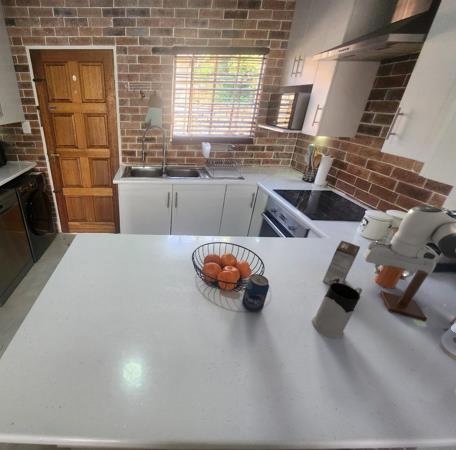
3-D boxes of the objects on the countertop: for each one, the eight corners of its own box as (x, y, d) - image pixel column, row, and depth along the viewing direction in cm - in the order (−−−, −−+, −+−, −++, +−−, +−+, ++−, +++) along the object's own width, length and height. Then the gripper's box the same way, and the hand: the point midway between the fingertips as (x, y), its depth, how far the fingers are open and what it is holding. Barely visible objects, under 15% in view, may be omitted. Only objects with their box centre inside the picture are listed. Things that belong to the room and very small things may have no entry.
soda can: (240, 310, 85) (247, 283, 79) (241, 297, 91) (248, 270, 85) (262, 316, 83) (271, 288, 77) (262, 302, 89) (270, 275, 83)
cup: (391, 281, 102) (402, 263, 98) (397, 290, 97) (408, 272, 93) (372, 276, 105) (382, 258, 101) (377, 285, 100) (387, 267, 96)
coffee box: (327, 272, 106) (341, 239, 99) (345, 279, 102) (361, 246, 95) (321, 281, 101) (336, 247, 93) (340, 289, 97) (356, 255, 89)
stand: (412, 302, 91) (435, 268, 84) (425, 321, 83) (451, 285, 76) (379, 293, 95) (398, 260, 88) (388, 311, 87) (410, 276, 80)
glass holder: (305, 320, 82) (321, 285, 75) (333, 309, 87) (350, 275, 80) (331, 342, 75) (350, 305, 68) (360, 327, 80) (380, 292, 73)
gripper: (374, 243, 94) (359, 272, 101) (445, 258, 87) (424, 288, 93) (369, 236, 99) (355, 264, 106) (436, 249, 92) (417, 278, 98)
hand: (388, 275), depth 99 cm, fingers open, 7 cm apart
